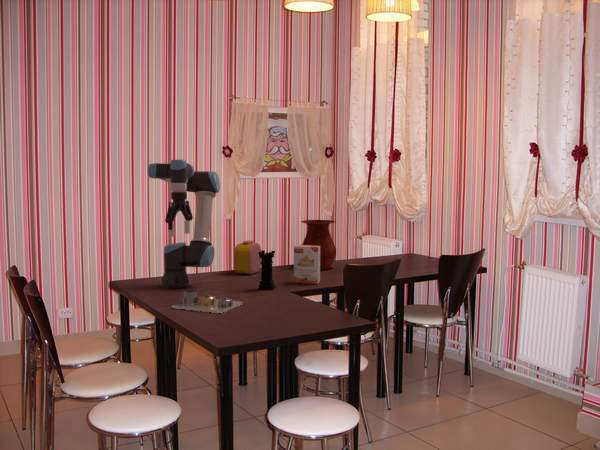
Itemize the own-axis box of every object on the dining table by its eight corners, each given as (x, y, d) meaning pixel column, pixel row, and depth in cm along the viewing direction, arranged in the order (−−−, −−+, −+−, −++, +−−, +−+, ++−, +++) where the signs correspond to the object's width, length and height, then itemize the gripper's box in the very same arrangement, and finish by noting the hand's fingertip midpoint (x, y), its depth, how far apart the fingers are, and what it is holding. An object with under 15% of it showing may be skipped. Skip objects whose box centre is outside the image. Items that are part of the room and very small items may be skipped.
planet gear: (179, 302, 306) (179, 292, 305) (188, 299, 313) (188, 289, 312) (193, 304, 303) (193, 293, 302) (201, 300, 310) (201, 290, 309)
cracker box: (293, 283, 363) (293, 246, 361) (296, 281, 369) (296, 244, 367) (318, 284, 360) (318, 246, 358) (320, 282, 366) (320, 245, 364)
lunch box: (245, 270, 406) (245, 239, 405) (262, 271, 403) (262, 239, 401) (233, 275, 389) (233, 242, 387) (250, 276, 386) (250, 243, 384)
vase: (334, 265, 427) (334, 219, 424) (338, 271, 403) (339, 222, 400) (298, 265, 425) (298, 219, 422) (300, 271, 402) (301, 223, 399)
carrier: (171, 308, 301) (171, 296, 300) (195, 300, 319) (195, 288, 318) (220, 313, 290) (220, 301, 290) (242, 304, 308) (242, 293, 308)
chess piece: (272, 290, 343) (272, 252, 341) (257, 289, 345) (257, 252, 343) (275, 287, 351) (275, 250, 349) (261, 286, 352) (261, 250, 350)
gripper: (170, 192, 303) (171, 238, 305) (199, 190, 326) (199, 232, 328) (157, 192, 306) (157, 237, 308) (186, 190, 329) (187, 232, 331)
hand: (179, 235), depth 318 cm, fingers open, 13 cm apart
